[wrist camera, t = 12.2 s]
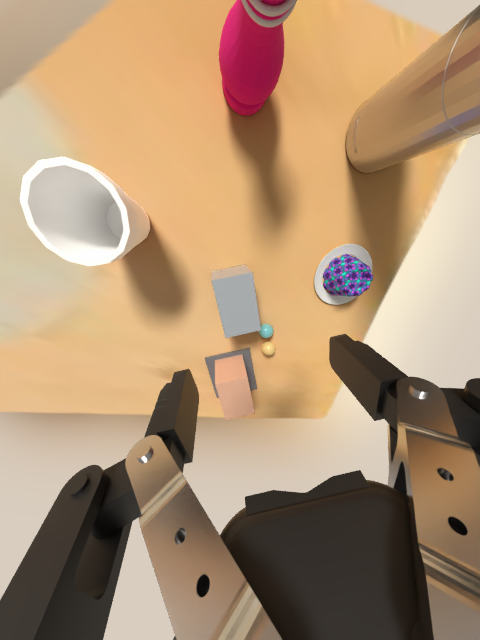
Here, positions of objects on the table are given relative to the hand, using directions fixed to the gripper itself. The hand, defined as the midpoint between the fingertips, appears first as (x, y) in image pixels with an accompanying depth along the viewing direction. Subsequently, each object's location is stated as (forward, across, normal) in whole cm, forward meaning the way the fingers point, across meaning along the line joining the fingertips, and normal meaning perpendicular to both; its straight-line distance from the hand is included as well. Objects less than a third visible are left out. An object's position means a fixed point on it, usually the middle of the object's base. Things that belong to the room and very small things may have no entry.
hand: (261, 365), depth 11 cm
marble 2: (+28, -4, +18) cm, 33 cm away
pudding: (+29, -22, +6) cm, 36 cm away
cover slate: (+28, 0, +4) cm, 28 cm away
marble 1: (+28, -4, +13) cm, 31 cm away
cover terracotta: (+27, +5, +23) cm, 36 cm away
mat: (+27, +5, +23) cm, 36 cm away
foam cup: (+28, +14, -11) cm, 33 cm away
